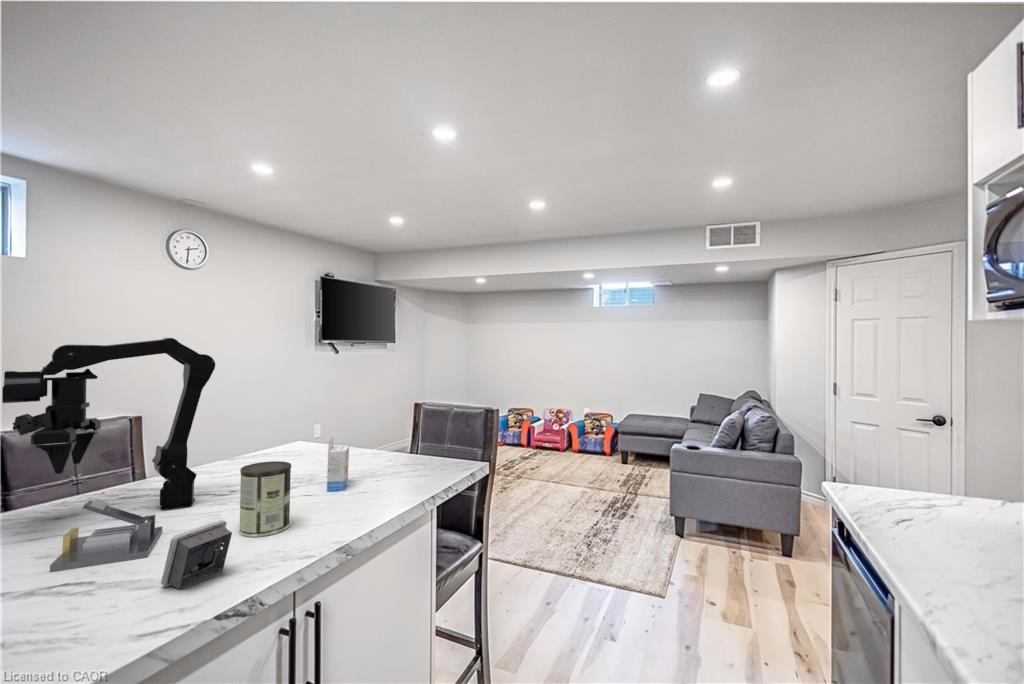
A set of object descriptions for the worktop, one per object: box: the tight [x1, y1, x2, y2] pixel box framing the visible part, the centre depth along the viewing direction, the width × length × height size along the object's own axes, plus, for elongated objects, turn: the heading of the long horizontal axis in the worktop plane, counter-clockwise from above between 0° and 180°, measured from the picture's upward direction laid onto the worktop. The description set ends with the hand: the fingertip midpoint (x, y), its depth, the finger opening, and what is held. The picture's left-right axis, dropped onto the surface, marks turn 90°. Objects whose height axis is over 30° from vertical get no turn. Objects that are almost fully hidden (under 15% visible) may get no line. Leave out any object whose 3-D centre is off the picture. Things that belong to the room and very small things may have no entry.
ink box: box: [326, 435, 350, 492], centre depth 138 cm, size 8×5×15 cm, turn 13°
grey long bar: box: [82, 498, 153, 526], centre depth 93 cm, size 12×3×2 cm, turn 117°
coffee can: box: [238, 460, 292, 538], centre depth 105 cm, size 10×10×14 cm
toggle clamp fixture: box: [49, 514, 163, 573], centre depth 93 cm, size 14×14×5 cm
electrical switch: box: [160, 519, 233, 591], centre depth 82 cm, size 9×5×9 cm, turn 158°
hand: (68, 468), depth 105 cm, fingers open, 9 cm apart
